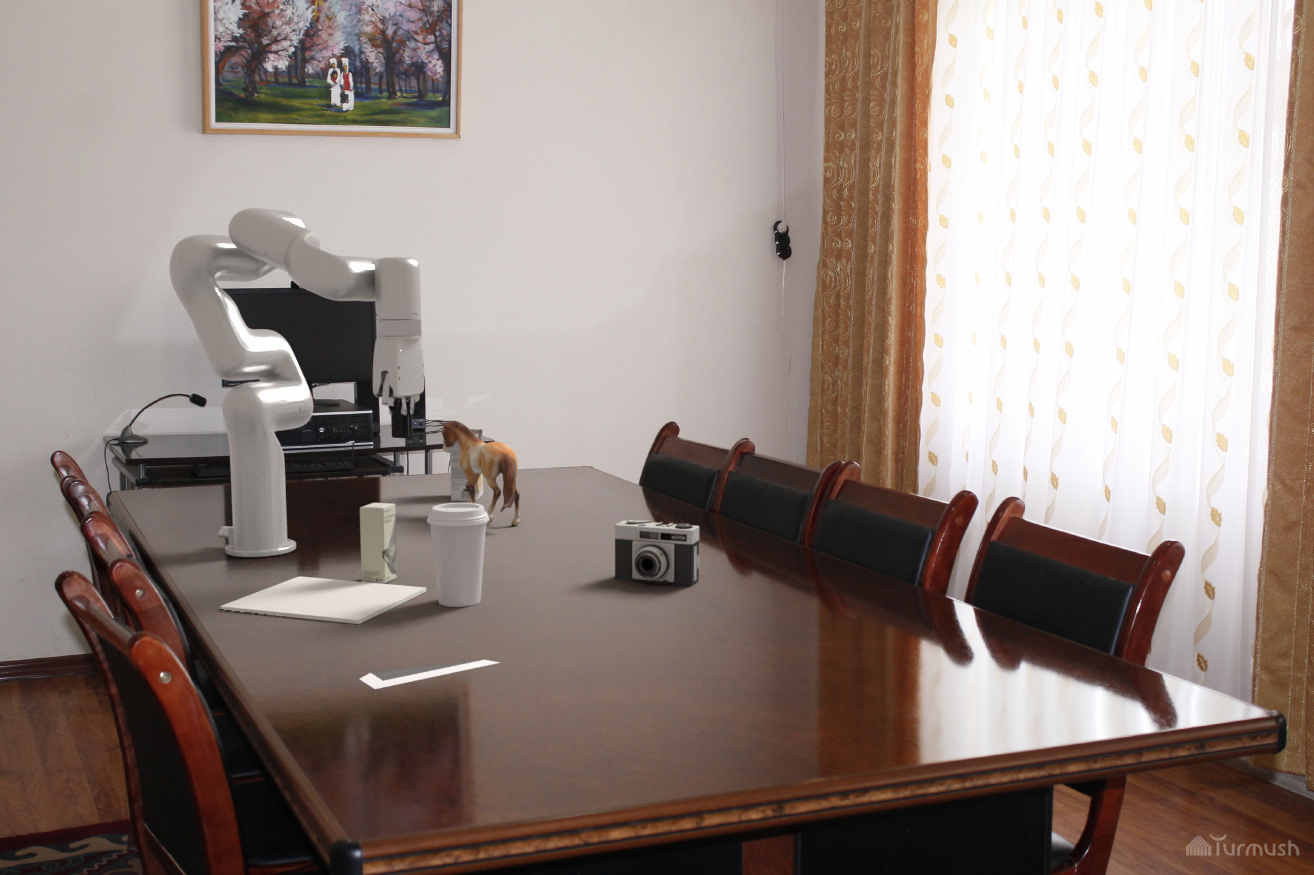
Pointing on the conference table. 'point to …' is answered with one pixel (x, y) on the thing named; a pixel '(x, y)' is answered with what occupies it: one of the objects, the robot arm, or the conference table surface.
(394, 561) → the box
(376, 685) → the white l-shaped strip
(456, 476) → the coffee box
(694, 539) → the camera
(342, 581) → the mat
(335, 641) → the conference table surface
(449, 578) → the coffee cup
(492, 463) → the horse figurine
